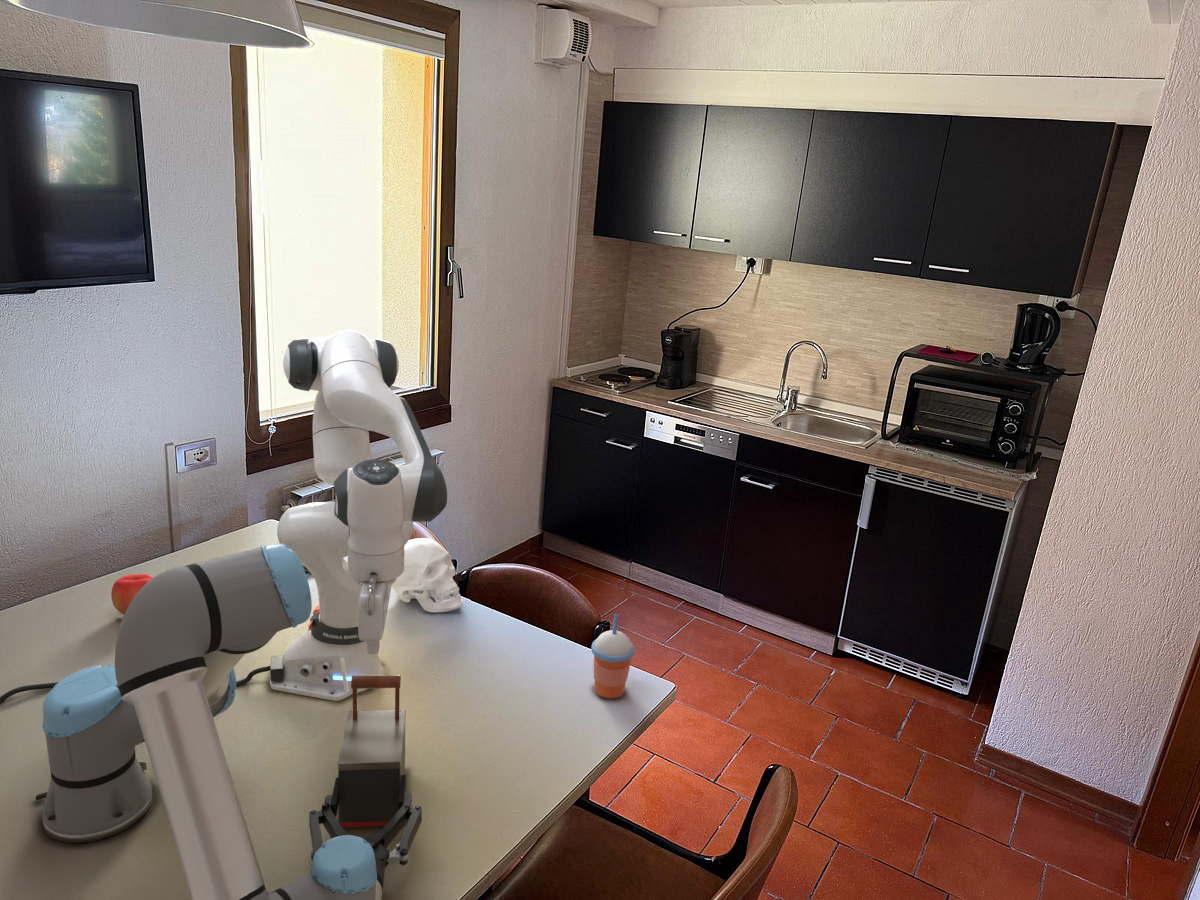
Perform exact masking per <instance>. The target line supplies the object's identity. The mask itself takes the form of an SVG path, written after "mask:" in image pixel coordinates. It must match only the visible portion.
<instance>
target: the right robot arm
mask: <svg viewBox="0 0 1200 900" xmlns="http://www.w3.org/2000/svg"><path fill="white" fill-rule="evenodd" d="M399 362H400V361H399V357H398V354H397V352H396V348H395V347H394V345H393V344H392V342H390V341H388V340H384V339H380V338H374V339H373V338H372V339H370V338H368V337H367V336H366V335H365V334H363V333H361V332H359V331H357V330H352V329H345V330H344V329H343V330H339V331H337V332H335V333H332V335H330V336H325V337H314V338H313V337H312V338H310V337H309V336H306V337H299V338H295V339H293V340H291V341H290V343H288V345H287V348H286V350H285V352H284V355H283V360H282V367H283V372H284V374H285V378H286V379H287V382H288V384H289V385H290V386H291V387H292V388H293V389H296V390H300V391H303V392H304V391H305V392H310V391H317V392H316V395H315V399H314V405H313V412H312V446H313V449H312V450H313V464H314V465H313V467H314V472H315V474H316V475H317V477H318V478H319V479H320V480H321V481H322V482H324V483H326V484H328V485H330V486H332V487H333V489H334V491H335V492H334V493H335V498H334V501H318V502H308V503H303V504H299V505H295V506H292V507H288V508H287V509H286V510H285V511H284V512H283V514H282V515H281V516H280V518H279V521H278V523H277V528H276V534H277V540H278V544H285V545H287V546H289V547H290V548H291V549H292V550H293V551H294V552H295V553H296V555H297V556H298V558H299V560H300V562H301V563H302V564H303V565H304V566H305V567H306V568H307V569H308V570H309V571H310V572H309V573H310V574H311V576H312V577H313V579H314V582H315V584H316V589H317V598H318V605H316V607H314V610H313V611H312V615H311V616H310V618H309V623H308V625H307V628H308V629H307V630H306V631H304V632H302V633H301V634H299V635H297V636H296V637H295V638H294V639H293V640H292V641H291V642H290V643H289V644H288V646H287V648H286V649H285V651H284V654H282V655H281V654H280V655H272V656H271V660H270V665H267V666H263V667H259V668H256V669H253V670H251V671H250V672H249V673H248V674H247V676H246V677H244V678H242V679H241V680H238V681H236V688H237V687H240V686H243V685H246V684H247V683H249V682H250V681H251V680H252V678H253V677H255V676H256V675H258V674H262V673H266V672H270V676H269V686H270V688H271V689H272V690H274V691H278V692H283V693H289V694H295V695H300V696H304V697H305V696H306V697H310V698H315V699H316V698H317V699H322V700H327V701H334V702H339V701H340V702H341V701H342V700H344V699H346V698H348V697H350V696H351V695H352V696H353V689H351V679H352V675H385V674H384V668H383V666H382V662H381V658H380V654H379V652H380V643H381V640H382V639H383V637H384V631H385V625H386V621H387V615H388V608H389V604H390V603H389V602H390V597H391V591H392V587H391V586H392V584H393V583H394V582H395V581H396V578H397V577H398V576H400V575H401V574H402V573H403V571H404V546H405V545H406V544H407V542H408V541H409V540H411V537H412V534H413V531H414V530H413V529H414V523H416V522H418V523H430V522H432V521H433V520H434V519H436V518H437V517H438V516H439V515H440V514H441V513H442V512H443V511H444V510H445V508H447V504H448V487H447V483H446V480H445V477H444V475H443V472H442V470H441V469H440V467H439V466H438V464H437V463H436V461H435V459H434V458H433V455H432V452H431V451H430V448H429V446H428V444H427V441H426V439H425V437H424V435H423V432H422V431H421V428H420V425H419V422H418V420H417V419H416V416H415V415H414V413H413V410H412V408H411V407H410V405H409V403H408V401H407V400H406V399H405V398H404V397H402V396H400V395H398V394H396V393H395V392H394V391H393V390H392V389H391V387H392V386H393V385H394V384H395V382H396V379H397V376H398V372H399V369H400V368H399V367H400V363H399ZM369 431H370V432H375V433H378V434H381V435H384V436H386V437H388V438H390V439H391V440H393V441H395V443H396V444H397V446H398V449H399V451H400V454H401V457H402V458H403V461H404V463H405V464H395V463H393V462H391V461H389V460H384V459H375V458H374V459H372V453H371V444H370V432H369ZM346 557H347V560H345V558H346ZM59 682H60V681H58V682H57V681H56V682H48V683H47V682H46V683H36V684H27V685H22V686H19V687H16V688H13V689H10V690H9V691H7V692H4V694H1V695H0V704H2V703H4V702H5V701H6V700H7V699H8V698H10V697H12V696H14V695H16V694H19V693H24V692H28V691H34V690H45V689H46V690H48V689H52V688H53V687H54V686H55V685H56V684H57V683H59ZM369 689H370V688H368V689H357V694H359V693H363V692H364V691H367V690H369Z"/></svg>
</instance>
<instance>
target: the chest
mask: <svg viewBox="0 0 1200 900" xmlns="http://www.w3.org/2000/svg"><path fill="white" fill-rule="evenodd" d="M401 775H406V726H405V727H404V737H403V747H402V756H401V766H400V768H396V769H366V770H338V769H337V777H338V792H339V804H338V822H339V823H340V825H341V827H342V828H343V829H344V828H345V829H346V828H365V827H366V828H367V827H368V828H369V827H384V826H385V825H386V824H387V823H388V822H389V820H390V819H391V818H392V817H393V816H394V815H395V814H396V812H397V811H398V801H399V791H400V783H401Z"/></svg>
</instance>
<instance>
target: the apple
mask: <svg viewBox="0 0 1200 900" xmlns="http://www.w3.org/2000/svg"><path fill="white" fill-rule="evenodd" d="M153 578H154V577H153V576H152V575H150V574H147V573H131V574H126V575H124V576H121V577H119V578H118V579H116V580H115V582H114V583H113V585H112V587H111V594H110V595H111V597H110V598H111V602H112V604H113V606H114V608H115V609H116V610H117V611H118V612H119V613H120V614H121V615H123V616H124V615H125V613H126V611H127V609H128V607H129V605H130V603H131V602H132V600H133V599H134V597H135V596H136V594H137V593H138V592H139V591H140V589H141V588H142V587H143V586H144V585H145V584H146V583H147V582H149V581H150V580H151V579H153Z"/></svg>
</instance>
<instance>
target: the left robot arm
mask: <svg viewBox="0 0 1200 900" xmlns="http://www.w3.org/2000/svg"><path fill="white" fill-rule="evenodd" d="M309 583H310V582H309V580H308V576H307V573H306V571H304V568H303V566H302V564H301V562H300V560H299V558H298V556H297V555H296V553H295V552H294V551H293V550H292V549H291V548H290V547H289V546H287V545H285V544H280V543H274V544H270V545H264V544H262V545H260V547H256V548H252V549H248V550H244V551H240V552H236V553H231V554H227V555H223V556H219V557H214V558H211V559H206V560H201V561H198V562H194V563H190V564H187V565H180V566H179V565H178V566H175V567H172V568H168V569H167V570H165V571H162V572H160V573H158V574H157V575H155V576H154V577H153V579H151V580H150V581H149V582H147V583H146V584H145V585H144V586H143V587H142V588H141V589H140V591H139V592H138V593H137V594H136V596H135V597H134V599H133V600H132V602H131V603H130V605H129V607H128V609H127V611H126V613H125V615H123V617H122V620H121V623H120V624H119V628H118V631H117V636H116V640H115V648H114V664H113V665H111V664H106V665H105V666H102V665H95V666H91V667H90V666H89V667H86V668H83V669H81V670H78V671H75V672H74V673H71V674H69V675H68V676H66V677H64V678H63V679H61V680H60V681H58V682H59V683H57V684H56V685H55V686H54V687H53V688H51V690H50V691H49V692H48V693H47V694H46V696H45V697H44V700H43V704H42V729H43V732H44V735H45V743H46V748H47V749H46V750H47V756H48V764H49V770H50V782H49V785H48V789H47V791H46V792H42V793H39V794H37V795H36V796H35V799H36V801H40V800H44V803H43V806H42V814H41V817H42V825H43V830H44V831H45V833H46V834H47V835H48V836H49V837H50V838H52V839H54V840H56V841H58V842H63V843H67V844H68V843H70V844H81V843H84V844H85V843H91V842H97V841H100V840H103V839H106V838H109V837H110V838H111V837H113V836H114V835H117V834H119V833H122V832H123V831H125V830H127V829H129V828H131V826H133V825H135V824H136V823H138V821H139V820H141V818H143V816H144V815H145V814H147V812H148V810H149V809H150V807H151V805H152V802H153V788H152V784H151V781H150V779H149V777H148V775H147V773H146V772H145V771H148V768H147V762H145V761H139V760H138V758H137V755H136V746H138V745H140V744H143V743H144V744H145V747H146V751H147V753H148V756H149V757H148V758H149V760H150V764H151V767H152V770H153V774H154V777H155V780H156V784H157V787H158V791H159V794H160V797H161V800H162V805H163V807H164V810H165V814H166V817H167V821H168V824H169V828H170V830H171V834H172V837H173V840H174V844H175V847H176V851H177V855H178V857H179V861H180V864H181V868H182V871H183V874H184V877H185V881H186V884H187V888H188V891H189V894H190V898H191V900H383V889H384V881H385V875H386V874H385V873H386V869H387V867H388V865H389V864H390V863H395V862H398V863H399V865H400V866H406V865H407V864H408V862H409V852H410V848H411V846H412V844H413V842H414V840H415V837H416V835H417V833H418V830H419V828H420V825H421V823H422V821H423V807H422V806H421V805H416V806H413V805H412V799H413V798H412V797H413V796H412V792H411V791H406V788H407V775H406V774H405V775H401V783H400V791H399V801H398V811H397V812H396V814H395V815H394V816H393V817H392V818H391V819H390V820H389V822H388V823H387V824H386V825H385V826H382V828H381V829H378V830H377V831H376V833H375V834H374V835H365V836H357V835H351V834H348V832H347V830H344V828H342V827H341V825H340V823H339V819H337V815H338V814H337V813H338V811H339V792H338V776H337V777H335V781H334V786H333V790H332V794H326V796H324V801H323V803H322V804H321V810H316V809H312V810H310V811H309V813H308V822H309V823H308V825H309V832H310V839H311V844H312V850H311V853H310V864H311V865H310V866H311V868H310V871H309V872H307V873H305V874H303V875H301V876H299V877H297V878H296V879H293V880H292V881H290V882H288V883H286V884H284V885H283V886H280V887H279V888H277V889H275V890H273V891H270V892H269V893H268V891H267V888H266V885H265V881H264V877H263V874H262V871H261V867H260V865H259V861H258V858H257V855H256V851H255V848H254V845H253V842H252V838H251V835H250V831H249V829H248V825H247V822H246V820H245V819H246V818H245V816H244V813H243V809H242V807H241V804H240V800H239V797H238V793H237V791H236V788H235V784H234V780H233V777H232V774H231V771H230V768H229V764H228V762H227V758H226V755H225V752H224V749H223V745H222V743H221V739H220V736H219V732H218V729H217V726H216V722H215V720H214V718H215V717H217V716H218V715H220V714H222V713H225V712H226V711H228V710H229V709H230V707H231V706H232V705H233V703H234V701H235V698H236V694H237V692H236V689H237V687H236V682H237V676H236V672H235V667H236V666H237V665H238V663H239V662H240V661H241V660H242V658H243V657H244V656H245V655H247V654H251V653H253V652H256V651H259V650H260V649H262V648H263V647H264V646H266V645H267V644H268V643H269V642H270V641H271V640H272V639H273V637H274V636H275V635H276V634H277V633H278V632H281V631H284V630H286V629H290V628H294V629H295V628H296V627H297V626H298V625H301V624H304V623H306V622H307V621H308V620H310V618H311V614H312V610H313V609H312V608H313V606H312V605H313V603H312V602H313V601H312V593H311V588H310V584H309ZM321 825H323V827H324V829H325V830H326V832H327V834H328V835H329V837H330V838H329V839H327V840H326V841H324V842H323V837H322V830H321ZM403 828H404V829H403ZM402 829H403V830H402ZM401 831H402V833H401V836H400V838H399V841H398V843H396V844H395V846H394V847H393V849H392V850H391V851H389V850H388V846H389V845H390V844H391V842H392V841H393V840H394V839H395V838H396V836H398V834H399V833H400V832H401Z"/></svg>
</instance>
